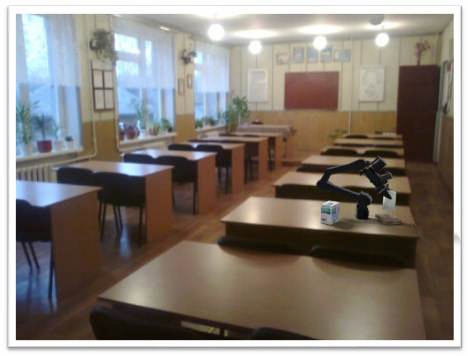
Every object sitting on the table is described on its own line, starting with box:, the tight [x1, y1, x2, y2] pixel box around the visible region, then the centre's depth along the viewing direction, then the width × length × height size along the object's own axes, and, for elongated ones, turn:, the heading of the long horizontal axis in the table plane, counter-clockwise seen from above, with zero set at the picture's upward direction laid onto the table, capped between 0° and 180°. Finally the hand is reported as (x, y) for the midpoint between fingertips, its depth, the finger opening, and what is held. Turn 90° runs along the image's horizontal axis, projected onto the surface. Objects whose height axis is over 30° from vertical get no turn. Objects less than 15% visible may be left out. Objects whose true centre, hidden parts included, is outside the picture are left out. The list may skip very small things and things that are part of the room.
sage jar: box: [382, 189, 397, 212], centre depth 242 cm, size 6×6×10 cm
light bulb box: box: [320, 200, 341, 226], centre depth 241 cm, size 11×7×11 cm, turn 143°
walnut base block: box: [374, 213, 403, 225], centre depth 244 cm, size 10×14×2 cm
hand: (392, 197), depth 241 cm, fingers closed on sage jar, 6 cm apart
